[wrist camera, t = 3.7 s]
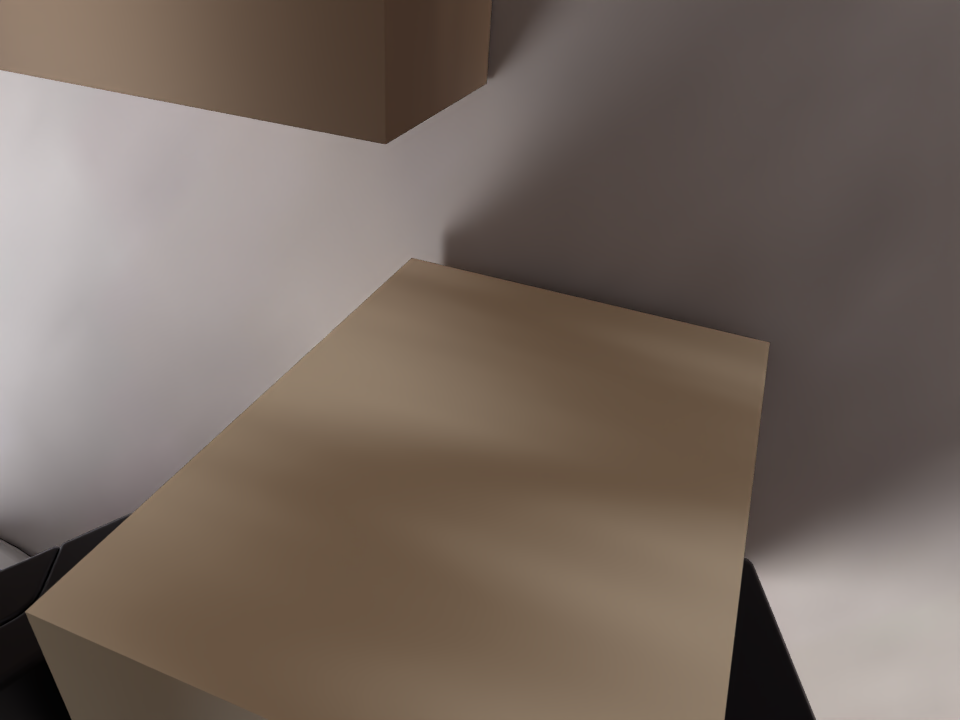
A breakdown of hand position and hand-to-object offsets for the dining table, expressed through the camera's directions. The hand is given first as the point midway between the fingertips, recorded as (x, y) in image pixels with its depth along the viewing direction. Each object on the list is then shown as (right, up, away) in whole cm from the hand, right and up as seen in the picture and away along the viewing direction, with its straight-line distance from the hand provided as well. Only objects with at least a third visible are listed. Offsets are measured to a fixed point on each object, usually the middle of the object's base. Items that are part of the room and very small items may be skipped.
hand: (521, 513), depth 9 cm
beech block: (+1, +1, +1) cm, 2 cm away
